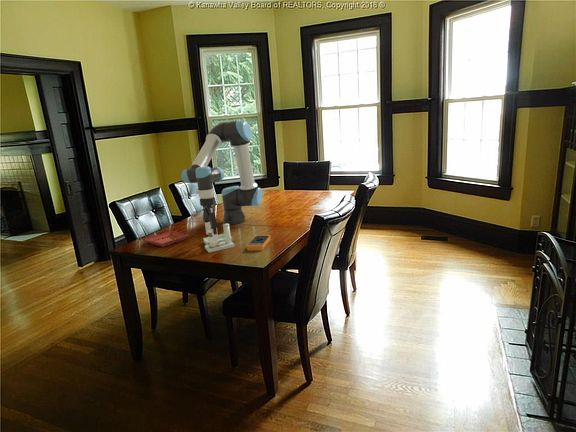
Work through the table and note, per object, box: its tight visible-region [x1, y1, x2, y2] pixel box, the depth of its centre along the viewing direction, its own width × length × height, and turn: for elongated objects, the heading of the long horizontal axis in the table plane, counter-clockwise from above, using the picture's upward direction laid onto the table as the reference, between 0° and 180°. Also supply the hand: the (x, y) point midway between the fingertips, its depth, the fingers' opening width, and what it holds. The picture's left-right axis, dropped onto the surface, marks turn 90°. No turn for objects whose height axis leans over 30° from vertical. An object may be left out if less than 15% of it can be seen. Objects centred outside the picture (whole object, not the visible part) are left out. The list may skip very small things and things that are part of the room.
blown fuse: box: [207, 226, 218, 248], centre depth 197 cm, size 4×4×12 cm
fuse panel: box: [204, 241, 235, 254], centre depth 200 cm, size 14×8×2 cm, turn 116°
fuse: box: [222, 223, 232, 244], centre depth 200 cm, size 3×3×12 cm
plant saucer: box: [145, 230, 189, 248], centre depth 219 cm, size 18×18×3 cm
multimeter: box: [246, 234, 271, 252], centre depth 198 cm, size 9×18×3 cm, turn 167°
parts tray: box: [202, 233, 234, 246], centre depth 209 cm, size 14×10×2 cm
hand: (212, 237), depth 197 cm, fingers open, 13 cm apart
